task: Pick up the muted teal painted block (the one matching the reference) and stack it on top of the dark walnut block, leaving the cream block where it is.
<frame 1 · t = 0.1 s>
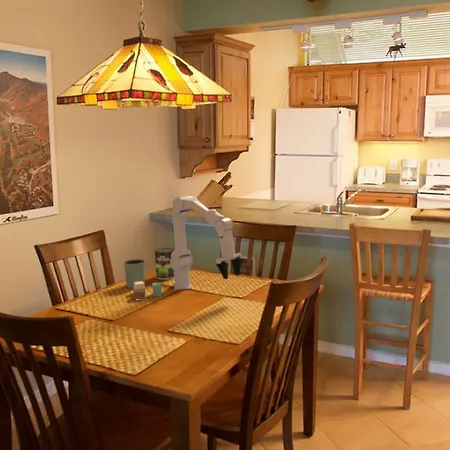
hand: (231, 277, 238), 11 cm above the table, tool pointing down, fingers open, 7 cm apart
teal block: (157, 294, 250), on the table
walnut block: (139, 298, 245), on the table
cream block: (139, 293, 253), on the table
teal cup: (135, 285, 266), on the table
coffee can: (166, 277, 279), on the table
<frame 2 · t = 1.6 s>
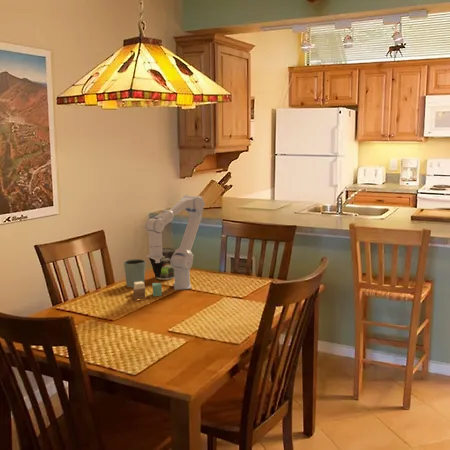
hand: (156, 274, 248), 9 cm above the table, tool pointing down, fingers open, 7 cm apart
nothing on the table moved.
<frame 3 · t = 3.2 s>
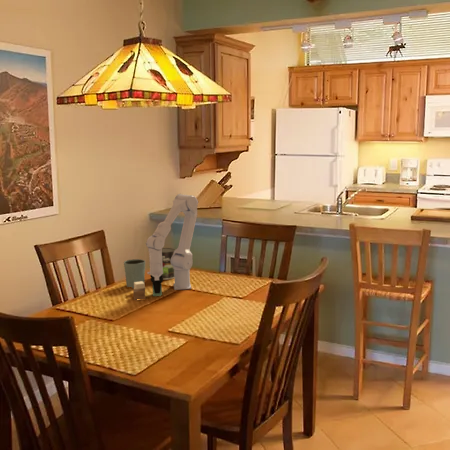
hand: (157, 291, 250), 1 cm above the table, tool pointing down, fingers closed on teal block, 4 cm apart
teal block: (157, 294, 250), on the table, touching gripper
everything else where it was.
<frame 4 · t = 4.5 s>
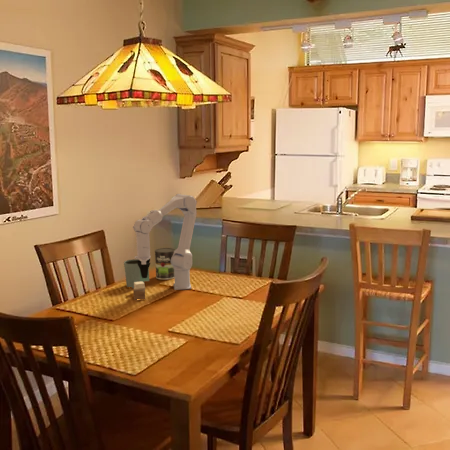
hand: (144, 276, 245), 10 cm above the table, tool pointing down, fingers closed on teal block, 4 cm apart
teal block: (144, 280, 246), point 8 cm above the table, touching gripper
everything else where it was.
when the fingers open (6 cm above the table, at t = 5.7 s): teal block stays where it is, resting on walnut block.
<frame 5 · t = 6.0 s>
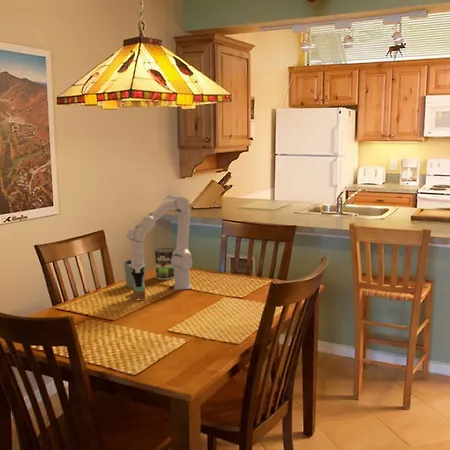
hand: (138, 284, 244), 6 cm above the table, tool pointing down, fingers open, 7 cm apart
teal block: (139, 290, 245), point 4 cm above the table, touching walnut block
walnut block: (139, 298, 245), on the table, touching teal block
everything else where it was.
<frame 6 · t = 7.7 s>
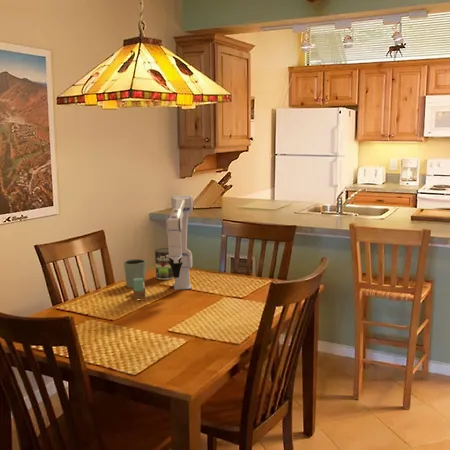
hand: (176, 275, 243), 10 cm above the table, tool pointing down, fingers open, 7 cm apart
nothing on the table moved.
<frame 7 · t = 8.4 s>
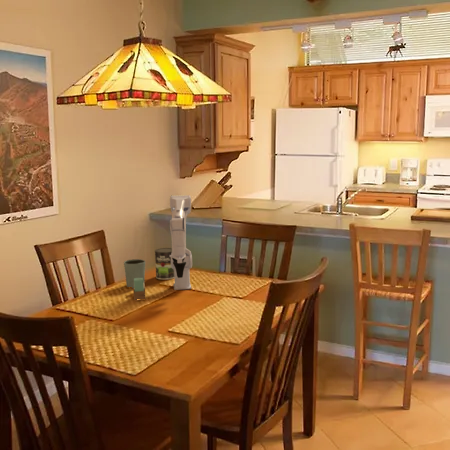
hand: (179, 275, 243), 10 cm above the table, tool pointing down, fingers open, 7 cm apart
teal block: (139, 290, 245), point 4 cm above the table
walnut block: (139, 298, 245), on the table
everything else where it was.
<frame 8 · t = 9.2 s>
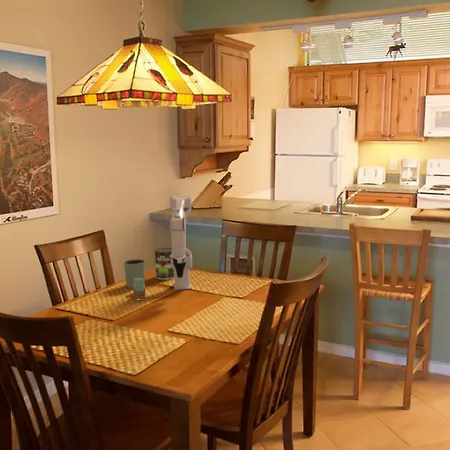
hand: (179, 275, 243), 10 cm above the table, tool pointing down, fingers open, 7 cm apart
teal block: (139, 290, 245), point 4 cm above the table, touching walnut block
walnut block: (139, 298, 245), on the table, touching teal block
everything else where it was.
at the end: teal block 0.1 cm off-centre on the walnut block, point 4.0 cm above the walnut block's base; teal block tilted 0°; cream block moved 0.1 cm from its start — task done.
